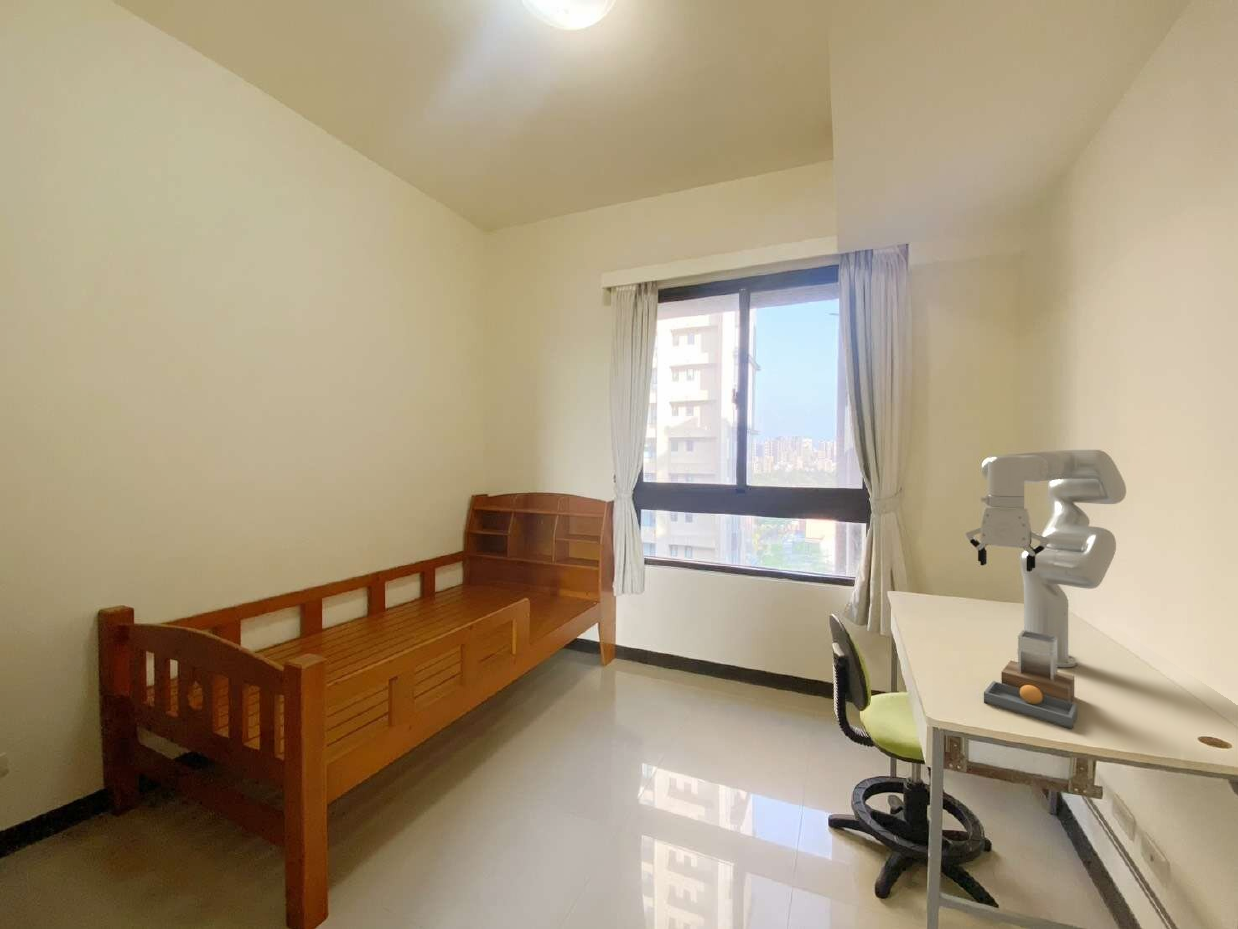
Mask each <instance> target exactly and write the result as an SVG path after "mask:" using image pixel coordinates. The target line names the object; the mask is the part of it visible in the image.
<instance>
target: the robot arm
mask: <svg viewBox="0 0 1238 929" xmlns="http://www.w3.org/2000/svg"><path fill="white" fill-rule="evenodd" d="M980 471H981V474H982V476H983V478H984V479H985V480H986V481H987V495H986V496H985V497H982V496H981V498H980V501H981V503H984V504H986V505H987V506H983V510H982V515H981V521H980V522H981V523H980V527H979V528H976V529H973V530H970V531H968V532H966V533H965V535H966V537H967V539H968V540H969V542H970V544H971V545H972V546H973V547H975V548H976V550H977V561H978V562H979V563H980V566H985V565H987V561H988V560H987V549H986V547H987V546H994V547H995V546H998V547H1005V548H1006V547H1007V548H1016V549H1017V548H1019V549H1024V550H1023V551H1022V552H1021V554H1020V556H1019V568H1020V571H1021V576H1022V583H1023V614H1024V615H1023V630H1025V631H1030V632H1035V633H1040V634H1045V635H1050V636H1055V637H1057V668H1073V667H1075V666H1076V665H1077V661H1076V660H1077V659H1075V657H1073V656H1071V655H1069V599H1068V596H1067V595H1066V593H1065V591H1064V590H1063V589H1062V588H1061V586H1060V585H1063V586H1068V587H1072V588H1073V587H1074V588H1079V589H1086V590H1087V589H1096V588H1098V587H1099V586H1100V585H1101V584H1102V582H1103V580H1104V578H1105V576H1106V574H1107V572H1108V569H1109V568H1110V565H1111V563H1112V562H1113V559H1114V557H1115V554H1116V549H1117V542H1116V541H1117V540H1116V538H1115V535H1114V534H1113V532H1111V531H1110V530H1108V528H1104V527H1099V526H1092V525H1091V526H1090V517H1088V515H1087V514H1086V513H1085V512H1084V510H1083V509H1082V508H1080V507H1079V506H1077V505H1076V504H1077V503H1079V504H1080V503H1082V504H1096V505H1097V504H1098V505H1116V504H1119V503H1121V502H1122V501H1124V500H1125V498H1126V494H1127V486H1126V483H1125V481H1124V479H1123V476H1122V475H1121V473H1120V471H1119V468H1118V467H1117V465H1116V463H1115V461H1114V460H1113V458H1112V457H1111V456H1110V455H1109V454H1108V453H1107V452H1105V451H1103V450H1101V449H1063V450H1061V449H1059V450H1049V451H1048V450H1046V451H1045V450H1044V451H1034V452H1025V453H1015V454H1014V453H1011V454H999V455H990V456H988V457H987V458H985V459H984V460H983V462H982V463H981V469H980ZM1041 482H1048V484H1047V495H1048V502H1049V507H1050V511H1051V516H1050V518H1049V520H1048V521H1047V523H1046V525H1045V527H1044V528H1043V530H1042V531H1041V534H1039V533H1036V532H1035V531H1032V526H1031V519H1030V513H1029V510H1028V508H1025V484H1038V483H1041ZM1075 503H1076V504H1075ZM978 534H979V535H980V542H979V541H978V540H977V539H976V537H975V535H978ZM1033 539H1035V540H1037V541H1038V546H1037V547H1033V546H1032V540H1033ZM1016 652H1017V654H1018V648H1017V651H1016Z"/></svg>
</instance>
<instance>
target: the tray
mask: <svg viewBox="0 0 1238 929" xmlns="http://www.w3.org/2000/svg"><path fill="white" fill-rule="evenodd" d="M1020 689H1021V688H1018V687H1014V686H1010V685H1007V684H1003V683H1001V682H999V681H995V680H993V681H992V682H991V683H990V684H989V685H988V687H987V688H986V689H985V691H984V692H983V703H984V704H987V705H990V706H994V707H997V708H1000V709H1003V710H1006V711H1011V712H1013V713H1016V714H1020V715H1023V716H1026V717H1030V718H1034V719H1035V720H1038V721H1039V720H1040V721H1043V722H1047V723H1050V724H1053V725H1056V726H1060V727H1062V728H1065V729H1069V730H1072V728H1073V727H1074V724H1075V723H1076V722H1075V721H1076V718H1077V716H1078V703H1076V702H1069V701H1065V700H1061V699H1058V698H1054V697H1051V696H1047V695H1043V694H1042V697H1043V698H1042V701H1041V702H1040V703H1038V704H1030V703H1027V702H1026V701H1024V700H1023V699H1022V697H1021V695H1020Z"/></svg>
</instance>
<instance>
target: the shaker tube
mask: <svg viewBox="0 0 1238 929" xmlns="http://www.w3.org/2000/svg"><path fill="white" fill-rule="evenodd" d="M1017 649H1018V653H1017V662H1018V673H1022V671H1023V670H1024V668H1025V667H1027V668H1031V669H1035V670H1039V671H1043V672H1047V673H1051V681H1053V682H1054V680H1055V678H1056V676H1057V672H1058V667H1057V637H1055V636H1050V635H1045V634H1040V633H1035V632H1030V631H1025V630H1024V629H1023V630H1022V631H1020V633H1019V634H1018V636H1017Z"/></svg>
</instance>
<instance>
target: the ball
mask: <svg viewBox="0 0 1238 929" xmlns="http://www.w3.org/2000/svg"><path fill="white" fill-rule="evenodd" d="M1020 695H1021V697H1022V699H1023V700H1024V701H1026V702H1027V703H1030V704H1038V703H1040V702H1041V701H1042V698H1043V697H1042V693H1041V692H1040V690H1039V689H1038V688H1036V687H1034V686H1031V685H1025V686H1023V687H1021V689H1020Z"/></svg>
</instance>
